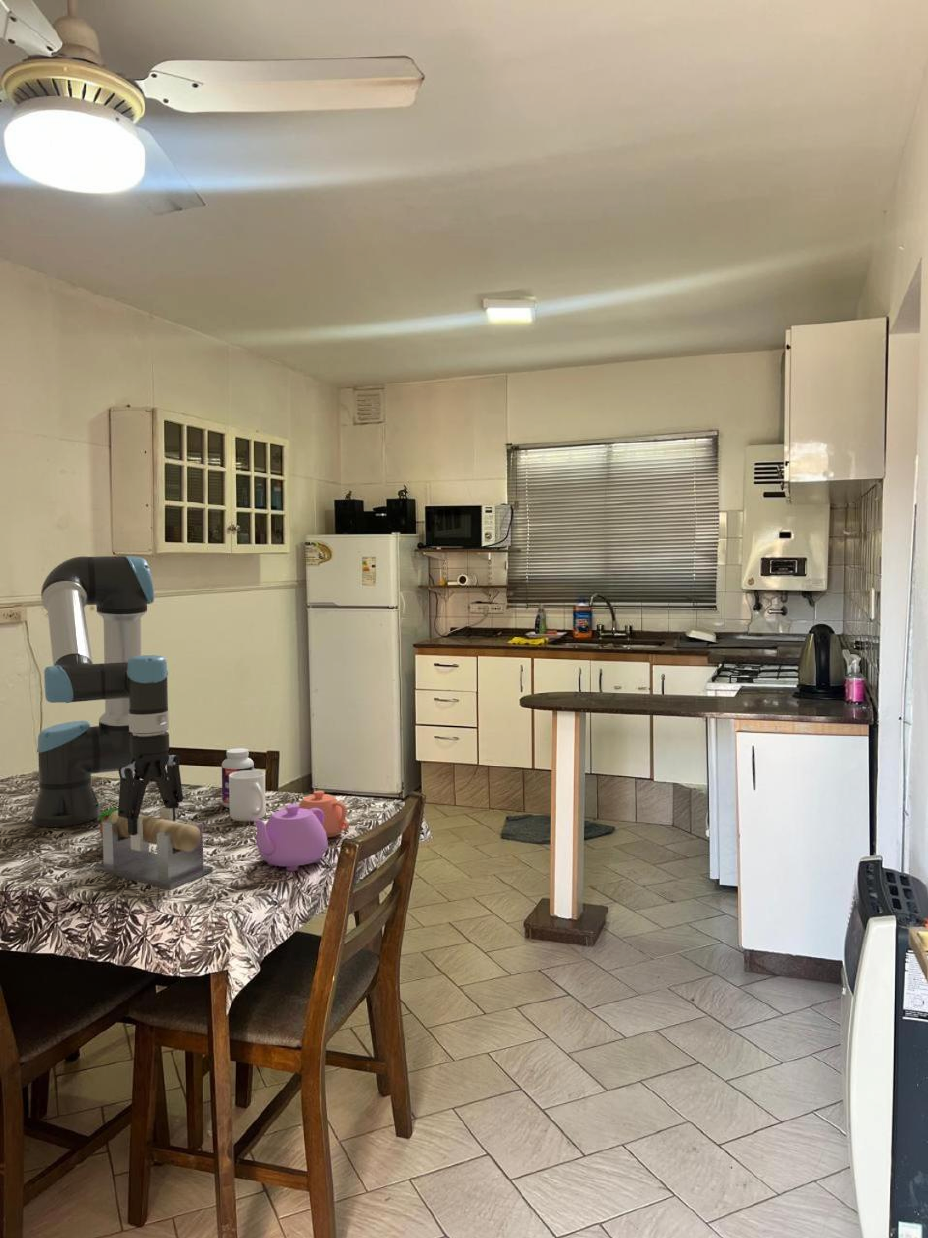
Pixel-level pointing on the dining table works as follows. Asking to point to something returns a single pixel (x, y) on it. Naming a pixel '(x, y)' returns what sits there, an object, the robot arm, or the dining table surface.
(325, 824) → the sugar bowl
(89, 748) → the robot arm
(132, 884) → the dining table surface
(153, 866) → the bracket stand
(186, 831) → the baguette
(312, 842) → the teapot
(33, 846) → the dining table surface
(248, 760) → the pill bottle
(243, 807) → the mug
